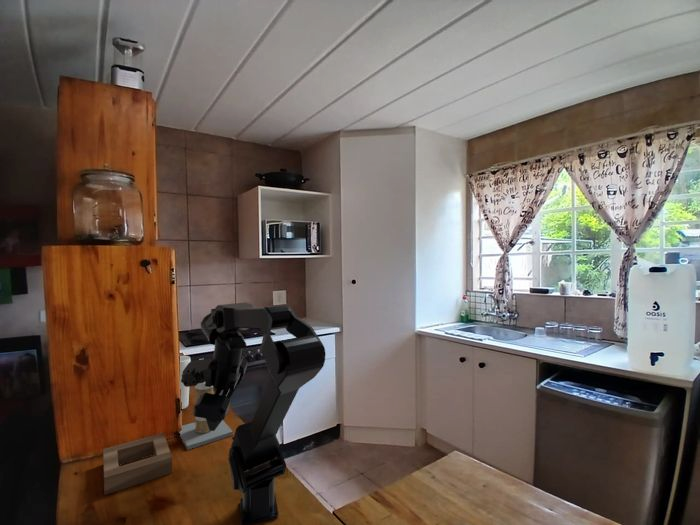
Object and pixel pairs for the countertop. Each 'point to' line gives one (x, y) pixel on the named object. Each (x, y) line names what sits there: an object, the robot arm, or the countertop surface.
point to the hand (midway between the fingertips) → (219, 414)
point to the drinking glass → (184, 390)
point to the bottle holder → (139, 470)
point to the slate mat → (203, 435)
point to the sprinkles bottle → (200, 389)
